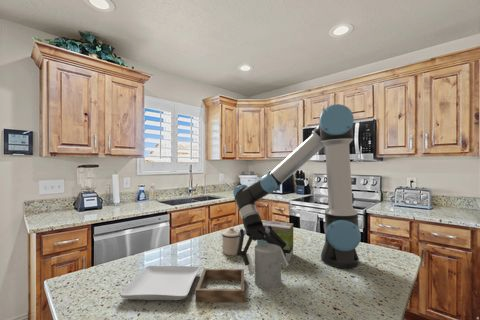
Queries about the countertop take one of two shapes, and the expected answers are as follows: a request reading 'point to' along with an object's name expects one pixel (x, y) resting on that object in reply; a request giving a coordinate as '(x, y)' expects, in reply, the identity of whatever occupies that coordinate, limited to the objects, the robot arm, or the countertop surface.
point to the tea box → (281, 235)
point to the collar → (220, 294)
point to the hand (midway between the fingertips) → (269, 270)
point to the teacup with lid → (230, 241)
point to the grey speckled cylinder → (268, 266)
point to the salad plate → (161, 283)
